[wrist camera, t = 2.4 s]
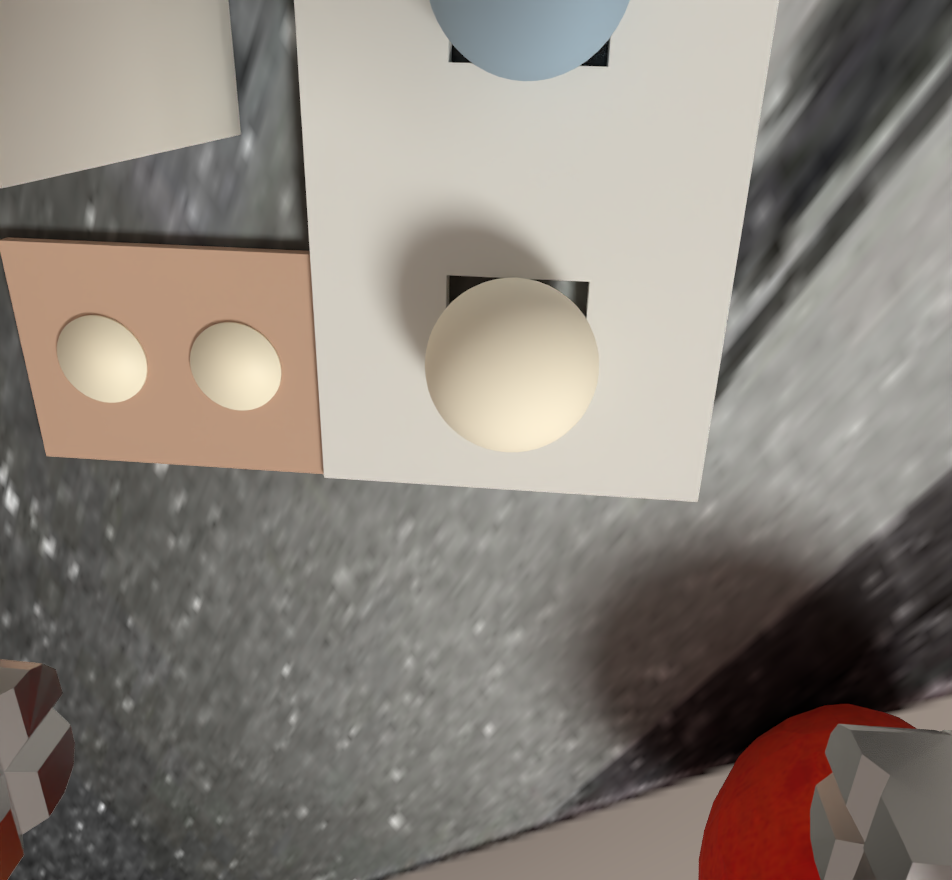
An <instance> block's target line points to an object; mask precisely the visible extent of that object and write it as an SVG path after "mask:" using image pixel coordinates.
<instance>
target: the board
mask: <svg viewBox="0 0 952 880" xmlns="http://www.w3.org/2000/svg"><path fill="white" fill-rule="evenodd" d="M778 4H779V0H630V1H629V4H628V6H627V9H626V11H625V14H624V16H623V17H622V19H621V21H620V23H619V25H618V27H617V28H616V30H615V31H614V32H613V34H612V35H611V37H610V38H609V44H608V55H607V67H601V66H578V67H577V68H575V69H573V70H571V71H569V72H567V73H565V74H562V75H559V76H556V77H553V78H550V79H544V80H539V81H517V80H510V79H506V78H502V77H498V76H496V75H493V74H491V73H488V72H486V71H484V70H483V69H481V68H479V67H477V66H476V65H474V64H473V63H454V62H452V43H451V42H450V41H449V39H448V38H447V37H446V35H445V34H444V32H443V30H442V29H441V27H440V25H439V23H438V22H437V19H436V17H435V15H434V12H433V10H432V8H431V4H430V1H429V0H294V8H295V24H296V40H297V56H298V71H299V87H300V103H301V119H302V135H303V151H304V167H305V182H306V198H307V214H308V230H309V246H310V262H311V278H312V293H313V309H314V325H315V341H316V357H317V373H318V389H319V404H320V420H321V436H322V452H323V468H324V478H339V479H354V480H370V481H385V482H400V483H416V484H431V485H446V486H462V487H477V488H492V489H508V490H523V491H538V492H554V493H569V494H585V495H600V496H615V497H631V498H646V499H661V500H677V501H692V502H698V497H699V491H700V484H701V478H702V472H703V466H704V460H705V454H706V447H707V441H708V435H709V429H710V423H711V417H712V410H713V404H714V398H715V392H716V386H717V380H718V373H719V367H720V361H721V355H722V349H723V343H724V336H725V330H726V324H727V318H728V312H729V306H730V300H731V293H732V287H733V281H734V275H735V269H736V263H737V256H738V250H739V244H740V238H741V232H742V226H743V219H744V213H745V207H746V201H747V195H748V189H749V182H750V176H751V170H752V164H753V158H754V152H755V145H756V139H757V133H758V127H759V121H760V115H761V109H762V102H763V96H764V90H765V84H766V78H767V72H768V65H769V59H770V53H771V47H772V41H773V35H774V28H775V22H776V16H777V10H778ZM449 275H454V276H476V277H498V278H525V279H541V280H562V281H584V282H588V291H587V303H586V315H585V318H586V319H587V321H588V323H589V325H590V327H591V329H592V332H593V334H594V337H595V340H596V344H597V347H598V354H599V376H598V382H597V386H596V390H595V393H594V396H593V398H592V400H591V402H590V404H589V406H588V409H587V410H586V412H585V413H584V415H583V416H582V418H581V419H580V420H579V421H578V422H577V424H576V425H575V426H574V427H573V428H572V429H570V430H569V431H568V432H567V433H566V434H565V435H563V436H562V437H560V438H559V439H557V440H556V441H554V442H552V443H550V444H548V445H546V446H543V447H541V448H538V449H534V450H530V451H524V452H500V451H494V450H490V449H486V448H483V447H480V446H478V445H475V444H473V443H471V442H470V441H468V440H466V439H464V438H463V437H462V436H460V435H459V434H457V433H456V432H455V431H454V430H453V429H452V428H451V427H450V426H449V425H448V424H447V423H446V422H445V421H444V419H443V418H442V416H441V415H440V414H439V412H438V411H437V409H436V407H435V405H434V403H433V401H432V399H431V396H430V393H429V391H428V386H427V382H426V376H425V354H426V349H427V344H428V340H429V337H430V335H431V332H432V329H433V327H434V325H435V324H436V322H437V320H438V318H439V317H440V316H441V314H442V313H443V311H444V310H445V309H446V308H447V307H448V306H449Z"/></svg>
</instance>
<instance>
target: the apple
mask: <svg viewBox="0 0 952 880" xmlns="http://www.w3.org/2000/svg"><path fill="white" fill-rule="evenodd" d="M838 724H850V725H865V726H880V727H895V728H910V729H916V728H915V727H913V726H912V725H910V724H908V723H907V722H905V721H904V720H902V719H900V718H899V717H896V716H893V715H890V714H887V713H884V712H880V711H876V710H872V709H868V708H864V707H860V706H856V705H852V704H837V705H825V706H822V707H819V708H816V709H813V710H810V711H807V712H804V713H801V714H798V715H796V716H793V717H790V718H787V719H786V720H784V721H783V722H781V723H780V724H778V725H777V726H775V727H773V728H772V729H770V730H769V731H767V732H766V733H764V734H762V735H761V736H759V737H758V738H756V739H755V740H754V741H753V742H752V743H751V744H750V745H749V746H748V747H747V748H746V749H745V750H744V751H743V753H742V754H741V755H740V756H739V757H738V759H737V761H736V762H735V764H734V766H733V768H732V770H731V771H730V773H729V775H728V777H727V779H726V780H725V782H724V784H723V786H722V788H721V789H720V791H719V793H718V795H717V797H716V798H715V800H714V802H713V805H712V808H711V811H710V814H709V818H708V821H707V824H706V827H705V830H704V835H703V840H702V846H701V851H700V856H699V880H821V879H820V876H819V873H818V870H817V867H816V864H815V860H814V855H813V850H812V844H811V839H810V808H811V804H812V799H813V795H814V791H815V786H816V785H817V784H818V783H819V782H821V781H822V780H823V779H825V778H826V777H827V776H829V775H830V774H831V773H833V772H832V769H831V767H830V764H829V762H828V759H827V757H826V754H825V750H826V747H827V744H828V740H829V737H830V734H831V732H832V731H833V730H834V729H835V727H836V726H837V725H838Z"/></svg>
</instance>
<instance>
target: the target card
mask: <svg viewBox="0 0 952 880" xmlns="http://www.w3.org/2000/svg"><path fill="white" fill-rule="evenodd" d="M0 252H1V257H2V261H3V265H4V270H5V274H6V279H7V283H8V288H9V292H10V296H11V301H12V305H13V310H14V314H15V319H16V323H17V327H18V332H19V336H20V341H21V345H22V350H23V354H24V358H25V363H26V367H27V372H28V376H29V381H30V385H31V389H32V394H33V398H34V403H35V407H36V412H37V416H38V420H39V425H40V429H41V434H42V438H43V443H44V447H45V451H46V456H54V457H69V458H84V459H100V460H115V461H131V462H146V463H162V464H177V465H192V466H208V467H223V468H239V469H254V470H270V471H285V472H300V473H316V474H324V468H323V452H322V436H321V420H320V404H319V389H318V373H317V357H316V341H315V325H314V309H313V293H312V278H311V262H310V251H302V250H279V249H257V248H234V247H212V246H190V245H167V244H145V243H122V242H100V241H78V240H55V239H33V238H10V237H7V238H4V239H1V240H0Z"/></svg>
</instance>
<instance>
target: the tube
mask: <svg viewBox="0 0 952 880" xmlns="http://www.w3.org/2000/svg"><path fill="white" fill-rule="evenodd" d="M237 135H241V129H240V118H239V107H238V97H237V86H236V75H235V65H234V54H233V43H232V33H231V22H230V11H229V1H228V0H0V188H5V187H10V186H14V185H19V184H23V183H28V182H32V181H37V180H41V179H45V178H50V177H54V176H59V175H63V174H68V173H72V172H77V171H81V170H85V169H90V168H94V167H99V166H103V165H108V164H112V163H117V162H121V161H125V160H130V159H134V158H139V157H143V156H148V155H152V154H157V153H161V152H165V151H170V150H174V149H179V148H183V147H188V146H192V145H197V144H201V143H205V142H210V141H214V140H219V139H223V138H228V137H232V136H237Z"/></svg>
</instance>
